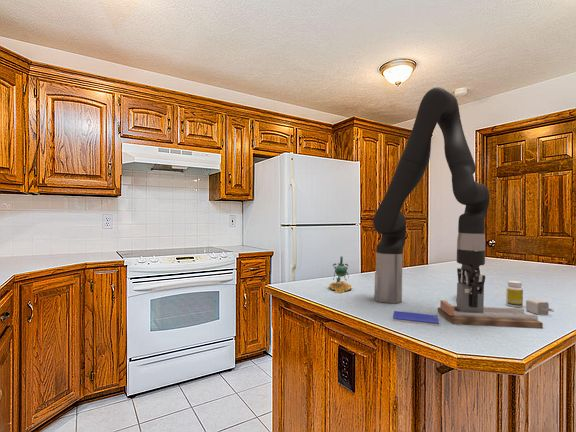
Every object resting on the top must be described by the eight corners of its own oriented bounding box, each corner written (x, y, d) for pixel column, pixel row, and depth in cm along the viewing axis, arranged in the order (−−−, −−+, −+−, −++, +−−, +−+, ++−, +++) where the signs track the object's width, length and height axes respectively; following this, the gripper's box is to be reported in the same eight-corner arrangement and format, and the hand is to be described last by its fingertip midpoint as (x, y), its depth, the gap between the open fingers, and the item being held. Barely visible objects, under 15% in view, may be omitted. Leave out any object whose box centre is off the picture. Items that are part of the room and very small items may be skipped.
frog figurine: (354, 285, 148) (355, 252, 146) (350, 299, 131) (351, 262, 129) (332, 283, 150) (333, 251, 149) (326, 297, 133) (326, 260, 132)
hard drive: (437, 314, 101) (394, 310, 105) (439, 322, 93) (392, 317, 98) (437, 320, 101) (394, 315, 105) (439, 328, 93) (392, 322, 98)
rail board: (452, 323, 95) (452, 308, 95) (437, 312, 107) (438, 298, 107) (542, 328, 93) (542, 312, 93) (517, 315, 105) (517, 301, 105)
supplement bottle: (525, 308, 114) (525, 283, 114) (509, 307, 115) (510, 282, 115) (518, 304, 119) (518, 280, 119) (503, 303, 120) (504, 280, 120)
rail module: (462, 312, 99) (462, 282, 99) (456, 308, 103) (457, 280, 103) (483, 313, 99) (484, 283, 99) (477, 309, 103) (477, 280, 103)
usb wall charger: (536, 311, 111) (536, 299, 111) (556, 317, 104) (556, 304, 104) (525, 311, 111) (526, 299, 111) (544, 317, 104) (544, 304, 104)
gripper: (448, 245, 108) (447, 298, 108) (468, 250, 94) (466, 311, 94) (473, 246, 108) (471, 299, 108) (496, 251, 94) (494, 312, 94)
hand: (469, 304), depth 101 cm, fingers closed on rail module, 4 cm apart
